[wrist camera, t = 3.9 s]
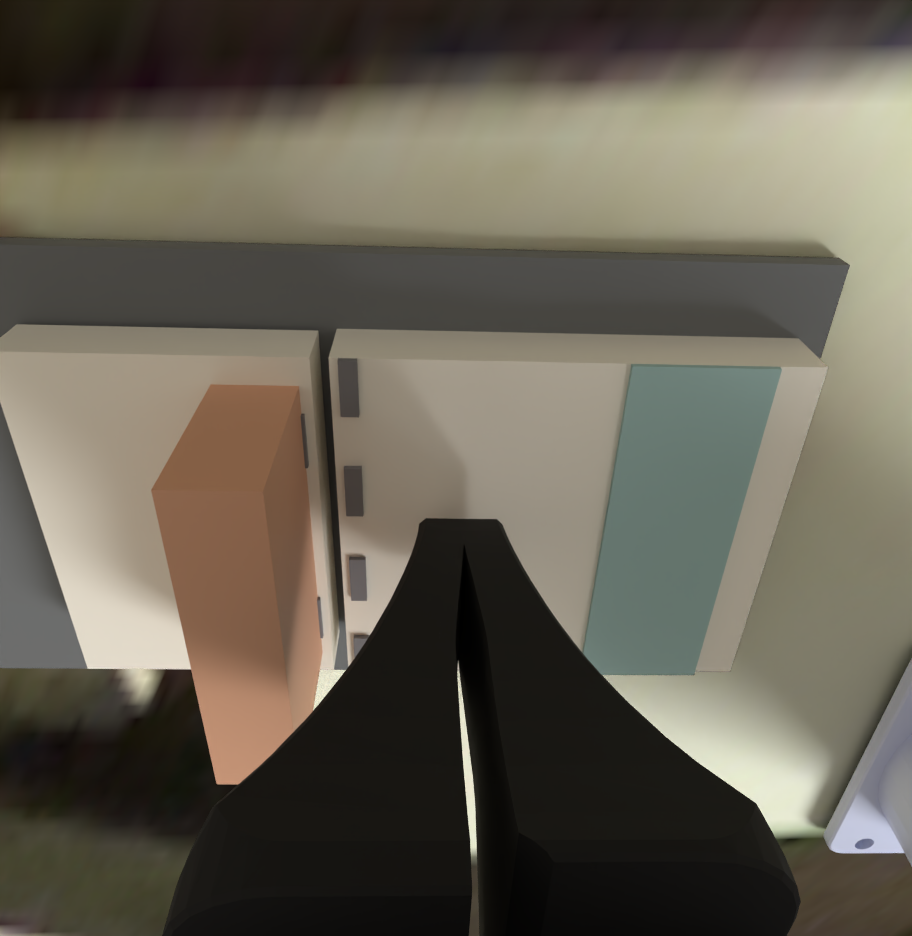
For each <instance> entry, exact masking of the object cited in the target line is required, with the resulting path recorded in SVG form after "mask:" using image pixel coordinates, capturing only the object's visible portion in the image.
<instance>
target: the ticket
mask: <svg viewBox="0 0 912 936" xmlns="http://www.w3.org/2000/svg"><path fill="white" fill-rule="evenodd" d="M827 371H828V367H827V366H826V365H825V364H824V363H823V362H822V361H821V360H820V359H819V358H818V357H817V356H816V355H815V354H814V353H813V352H812V351H811V350H810V349H809V348H808V347H807V346H806V345H805V344H804V343H803V342H802V341H801V340H800V339H799V338H761V337H713V336H665V335H617V334H569V333H521V332H473V331H425V330H376V329H337V330H336V333H335V337H334V340H333V344H332V347H331V351H330V354H329V374H330V390H331V405H332V421H333V436H334V452H335V467H336V483H337V499H338V514H339V530H340V545H341V561H342V577H343V592H344V608H345V623H346V639H347V655H348V667H349V665H350V664H351V663H352V661H353V660H354V658H355V657H356V656H357V654H358V653H359V651H360V650H361V648H362V647H363V645H364V644H365V642H366V640H367V639H368V637H369V636H370V634H371V633H372V631H373V629H374V628H375V626H376V624H377V622H378V621H379V619H380V617H381V615H382V614H383V612H384V610H385V608H386V607H387V605H388V603H389V601H390V600H391V598H392V596H393V594H394V592H395V589H396V587H397V585H398V583H399V581H400V579H401V577H402V575H403V573H404V570H405V568H406V566H407V563H408V561H409V558H410V556H411V553H412V550H413V548H414V545H415V541H416V538H417V534H418V528H419V523H421V522H422V521H423V520H424V519H426V518H448V519H497V520H498V521H499V522H500V523H501V524H502V525H503V527H504V529H505V532H506V534H507V536H508V539H509V541H510V543H511V545H512V547H513V549H514V551H515V553H516V555H517V557H518V558H519V560H520V562H521V564H522V566H523V567H524V569H525V571H526V573H527V574H528V576H529V578H530V579H531V581H532V583H533V584H534V586H535V587H536V589H537V590H538V592H539V594H540V595H541V597H542V598H543V600H544V601H545V603H546V605H547V606H548V607H549V609H550V610H551V612H552V613H553V615H554V616H555V618H556V619H557V620H558V622H559V623H560V624H561V626H562V627H563V628H564V630H565V631H566V632H567V634H568V635H569V636H570V638H571V639H572V640H573V642H574V643H575V644H576V645H577V647H578V648H579V649H580V650H581V652H582V653H583V654H584V655H585V656H586V658H587V659H588V660H589V661H590V662H591V663H592V665H593V666H594V667H595V668H596V669H597V670H598V671H599V672H600V674H601V675H694V673H695V671H700V672H730V671H731V668H732V664H733V661H734V658H735V655H736V652H737V649H738V646H739V643H740V640H741V637H742V634H743V630H744V627H745V624H746V621H747V618H748V615H749V612H750V609H751V606H752V603H753V600H754V597H755V593H756V590H757V587H758V584H759V581H760V578H761V575H762V572H763V569H764V566H765V563H766V559H767V556H768V553H769V550H770V547H771V544H772V541H773V538H774V535H775V532H776V529H777V525H778V522H779V519H780V516H781V513H782V510H783V507H784V504H785V501H786V498H787V495H788V492H789V488H790V485H791V482H792V479H793V476H794V473H795V470H796V467H797V464H798V461H799V458H800V454H801V451H802V448H803V445H804V442H805V439H806V436H807V433H808V430H809V427H810V424H811V420H812V417H813V414H814V411H815V408H816V405H817V402H818V399H819V396H820V393H821V390H822V387H823V383H824V380H825V377H826V374H827ZM458 670H459V663H458Z"/></svg>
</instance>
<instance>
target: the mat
mask: <svg viewBox="0 0 912 936" xmlns="http://www.w3.org/2000/svg"><path fill="white" fill-rule="evenodd" d="M849 266H850V265H849V264H847V263H846V262H844V261H843V260H841V259H840V258H820V257H780V256H740V255H699V254H659V253H619V252H578V251H538V250H498V249H457V248H417V247H376V246H336V245H296V244H255V243H215V242H175V241H134V240H94V239H53V238H13V237H0V337H2V336H3V335H4V334H5V333H7V332H8V331H9V330H10V329H12V328H13V327H14V326H15V325H16V324H25V325H74V326H122V327H170V328H219V329H267V330H315V331H318V332H319V346H320V360H321V375H322V389H323V403H324V417H325V431H326V446H327V460H328V474H329V488H330V502H331V517H332V531H333V545H334V559H335V573H336V588H337V602H338V616H339V630H340V632H339V639H338V646H337V652H336V659H335V666H334V670H346V669H347V668H348V655H347V639H346V623H345V608H344V592H343V577H342V561H341V545H340V530H339V514H338V499H337V483H336V467H335V452H334V436H333V421H332V405H331V390H330V374H329V354H330V351H331V347H332V344H333V340H334V337H335V333H336V330H337V329H376V330H425V331H473V332H521V333H569V334H617V335H665V336H713V337H761V338H799V339H800V340H801V341H802V342H803V343H804V344H805V345H806V346H807V347H808V348H809V349H810V350H811V351H812V352H813V353H814V354H815V355H816V356H817V357H818V358H819V359H820V358H821V355H822V352H823V349H824V346H825V342H826V339H827V336H828V333H829V330H830V327H831V323H832V320H833V317H834V314H835V311H836V307H837V304H838V301H839V298H840V295H841V292H842V288H843V285H844V282H845V279H846V276H847V273H848V269H849ZM0 668H87V665H86V662H85V659H84V656H83V653H82V650H81V647H80V644H79V641H78V638H77V635H76V631H75V628H74V625H73V622H72V619H71V616H70V613H69V610H68V607H67V604H66V601H65V598H64V595H63V592H62V589H61V586H60V583H59V580H58V577H57V574H56V571H55V568H54V564H53V561H52V558H51V555H50V552H49V549H48V546H47V543H46V540H45V537H44V534H43V531H42V528H41V525H40V522H39V519H38V516H37V513H36V510H35V507H34V504H33V501H32V497H31V494H30V491H29V488H28V485H27V482H26V479H25V476H24V473H23V470H22V467H21V464H20V461H19V458H18V455H17V452H16V449H15V446H14V443H13V440H12V437H11V434H10V430H9V427H8V424H7V421H6V418H5V415H4V412H3V409H2V406H1V403H0Z"/></svg>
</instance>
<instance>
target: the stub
mask: <svg viewBox="0 0 912 936" xmlns="http://www.w3.org/2000/svg"><path fill="white" fill-rule="evenodd" d="M0 403H1V406H2V409H3V412H4V415H5V418H6V421H7V424H8V427H9V430H10V434H11V437H12V440H13V443H14V446H15V449H16V452H17V455H18V458H19V461H20V464H21V467H22V470H23V473H24V476H25V479H26V482H27V485H28V488H29V491H30V494H31V497H32V501H33V504H34V507H35V510H36V513H37V516H38V519H39V522H40V525H41V528H42V531H43V534H44V537H45V540H46V543H47V546H48V549H49V552H50V555H51V558H52V561H53V564H54V568H55V571H56V574H57V577H58V580H59V583H60V586H61V589H62V592H63V595H64V598H65V601H66V604H67V607H68V610H69V613H70V616H71V619H72V622H73V625H74V628H75V631H76V635H77V638H78V641H79V644H80V647H81V650H82V653H83V656H84V659H85V662H86V665H87V668H88V669H191V671H192V675H193V680H194V684H195V689H196V693H197V698H198V702H199V707H200V711H201V716H202V720H203V724H204V729H205V733H206V738H207V742H208V747H209V751H210V756H211V760H212V765H213V769H214V774H215V778H216V783H217V784H239V783H241V782H242V781H243V780H244V779H245V778H246V777H247V776H249V775H250V774H251V773H252V772H253V771H254V770H255V769H257V768H258V767H259V766H260V765H261V764H262V763H263V762H264V761H265V760H266V759H267V758H268V757H270V756H271V755H272V754H273V753H274V752H275V751H276V749H277V748H278V747H279V746H280V745H281V744H282V743H283V742H284V741H285V740H286V739H287V738H288V737H289V736H290V735H291V734H292V733H293V732H294V731H295V730H296V729H297V728H298V727H299V726H300V725H301V724H302V723H303V722H304V721H305V719H306V718H307V717H308V716H309V715H310V714H311V713H312V712H313V706H314V701H315V695H316V689H317V683H318V677H319V671H320V670H334V666H335V659H336V652H337V646H338V639H339V632H340V630H339V616H338V602H337V588H336V573H335V559H334V545H333V531H332V517H331V502H330V488H329V474H328V460H327V446H326V431H325V417H324V403H323V389H322V375H321V360H320V346H319V332H318V331H315V330H267V329H219V328H170V327H122V326H74V325H25V324H16V325H15V326H14V327H13V328H12V329H10V330H9V331H8V332H7V333H5V334H4V335H3V336H2V337H0Z"/></svg>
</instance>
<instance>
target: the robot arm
mask: <svg viewBox="0 0 912 936" xmlns="http://www.w3.org/2000/svg"><path fill="white" fill-rule="evenodd" d="M458 663H459V671H460V679H461V687H462V695H463V703H464V710H465V718H466V726H467V734H468V741H469V749H470V757H471V765H472V772H473V782H474V793H475V808H476V837H477V866H478V899H479V934H480V936H787V934H788V932H789V930H790V928H791V926H792V924H793V922H794V920H795V919H796V916H797V912H798V909H799V905H800V902H801V901H800V897H799V893H798V888H797V885H796V882H795V880H794V877H793V875H792V872H791V870H790V867H789V865H788V863H787V860H786V858H785V856H784V854H783V852H782V850H781V848H780V846H779V844H778V842H777V840H776V838H775V837H774V835H773V833H772V831H771V829H770V827H769V826H768V824H767V822H766V820H765V818H764V817H763V815H762V813H761V811H760V809H759V808H758V806H757V804H756V803H755V802H753V801H752V800H750V799H749V798H747V797H746V796H745V795H743V794H742V793H740V792H739V791H737V790H736V789H735V788H733V787H732V786H730V785H729V784H727V783H726V782H725V781H723V780H722V779H720V778H719V777H717V776H716V775H715V774H713V773H712V772H710V771H709V770H707V769H706V768H705V767H703V766H702V765H700V764H699V763H698V762H696V761H695V760H694V759H692V758H691V757H690V756H689V755H688V754H686V753H685V752H684V751H683V750H681V749H680V748H679V747H678V746H676V745H675V744H674V743H673V742H671V741H670V740H669V739H668V738H666V737H665V736H664V735H663V734H662V733H661V732H660V731H659V730H658V729H657V728H655V727H654V726H653V725H652V724H651V723H650V722H649V721H648V720H647V719H646V718H645V717H643V716H642V715H641V714H640V713H639V712H638V711H637V710H636V709H635V708H634V707H633V706H631V705H630V704H629V703H628V702H627V701H626V700H625V699H624V698H623V697H622V696H621V695H620V694H619V693H618V692H617V691H616V690H615V688H614V687H613V686H612V685H611V684H610V683H609V682H608V681H607V680H606V679H605V678H604V677H603V676H602V675H601V674H600V672H599V671H598V670H597V669H596V668H595V667H594V666H593V665H592V663H591V662H590V661H589V660H588V659H587V658H586V656H585V655H584V654H583V653H582V652H581V650H580V649H579V648H578V647H577V645H576V644H575V643H574V642H573V640H572V639H571V638H570V636H569V635H568V634H567V632H566V631H565V630H564V628H563V627H562V626H561V624H560V623H559V622H558V620H557V619H556V618H555V616H554V615H553V613H552V612H551V610H550V609H549V607H548V606H547V605H546V603H545V601H544V600H543V598H542V597H541V595H540V594H539V592H538V590H537V589H536V587H535V586H534V584H533V583H532V581H531V579H530V578H529V576H528V574H527V573H526V571H525V569H524V567H523V566H522V564H521V562H520V560H519V558H518V557H517V555H516V553H515V551H514V549H513V547H512V545H511V543H510V541H509V539H508V536H507V534H506V532H505V529H504V527H503V525H502V524H501V523H500V522H499V521H498V520H497V519H448V518H426V519H424V520H423V521H422V522H421V523H419V528H418V534H417V538H416V541H415V545H414V548H413V550H412V553H411V556H410V558H409V561H408V563H407V566H406V568H405V570H404V573H403V575H402V577H401V579H400V581H399V583H398V585H397V587H396V589H395V592H394V594H393V596H392V598H391V600H390V601H389V603H388V605H387V607H386V608H385V610H384V612H383V614H382V615H381V617H380V619H379V621H378V622H377V624H376V626H375V628H374V629H373V631H372V633H371V634H370V636H369V637H368V639H367V640H366V642H365V644H364V645H363V647H362V648H361V650H360V651H359V653H358V654H357V656H356V657H355V658H354V660H353V661H352V663H351V664H350V665H349V667H348V668H347V669H346V671H345V672H344V674H343V675H342V676H341V677H340V679H339V680H338V681H337V682H336V684H335V685H334V686H333V687H332V689H331V690H330V691H329V692H328V694H327V695H326V696H325V697H324V699H323V700H322V701H321V702H320V704H319V705H318V706H317V707H316V708H315V709H314V711H313V712H312V713H311V714H310V715H309V716H308V717H307V718H306V719H305V721H304V722H303V723H302V724H301V725H300V726H299V727H298V728H297V729H296V730H295V731H294V732H293V733H292V734H291V735H290V736H289V737H288V738H287V739H286V740H285V741H284V742H283V743H282V744H281V745H280V746H279V747H278V748H277V749H276V751H275V752H274V753H273V754H272V755H271V756H270V757H268V758H267V759H266V760H265V761H264V762H263V763H262V764H261V765H260V766H259V767H258V768H257V769H255V770H254V771H253V772H252V773H251V774H250V775H249V776H247V777H246V778H245V779H244V780H243V781H242V782H241V783H239V784H238V785H237V786H236V787H235V788H234V789H233V790H231V791H230V792H229V793H228V794H227V795H226V796H225V797H223V798H222V799H221V800H220V801H219V802H218V803H216V804H215V805H214V806H213V808H212V810H211V812H210V813H209V815H208V817H207V819H206V821H205V823H204V825H203V827H202V829H201V830H200V832H199V834H198V836H197V838H196V841H195V843H194V845H193V847H192V849H191V851H190V853H189V856H188V858H187V861H186V863H185V866H184V868H183V870H182V873H181V875H180V878H179V880H178V883H177V886H176V889H175V893H174V896H173V900H172V903H171V907H170V910H169V914H168V917H167V921H166V924H165V928H164V931H163V935H162V936H469V924H470V912H471V899H472V877H471V853H470V836H469V826H468V816H467V804H466V793H465V781H464V770H463V756H462V743H461V729H460V714H459V698H458V681H457V670H458ZM824 838H825V841H826V843H827V845H828V847H829V848H830V850H832V851H834V852H837V853H905V855H906V856H907V858H908V860H909V862H910V864H911V866H912V658H911V660H910V662H909V664H908V666H907V668H906V670H905V672H904V674H903V676H902V678H901V680H900V682H899V684H898V686H897V688H896V690H895V692H894V694H893V696H892V698H891V700H890V702H889V704H888V706H887V708H886V710H885V712H884V714H883V716H882V718H881V720H880V722H879V724H878V726H877V728H876V730H875V732H874V734H873V736H872V738H871V740H870V742H869V744H868V746H867V748H866V750H865V752H864V754H863V756H862V758H861V760H860V762H859V764H858V766H857V768H856V770H855V772H854V774H853V776H852V778H851V780H850V782H849V784H848V786H847V788H846V790H845V792H844V794H843V796H842V798H841V800H840V802H839V804H838V806H837V808H836V810H835V812H834V814H833V816H832V818H831V820H830V822H829V824H828V826H827V828H826V830H825V832H824Z"/></svg>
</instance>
